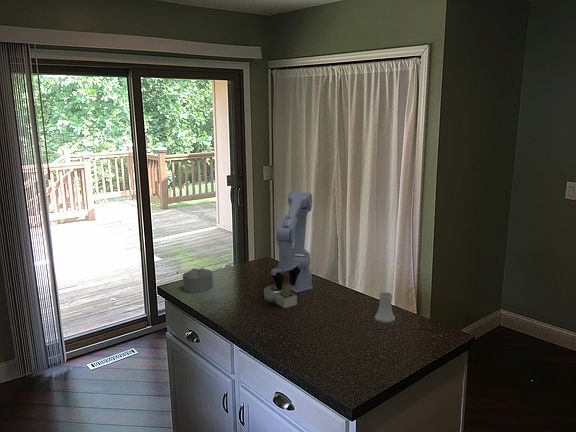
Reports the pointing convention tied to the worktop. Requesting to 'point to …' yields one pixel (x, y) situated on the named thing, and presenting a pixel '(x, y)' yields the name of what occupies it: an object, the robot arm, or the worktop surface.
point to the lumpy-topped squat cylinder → (197, 280)
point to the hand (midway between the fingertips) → (286, 287)
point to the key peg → (286, 289)
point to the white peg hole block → (279, 297)
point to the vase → (385, 309)
